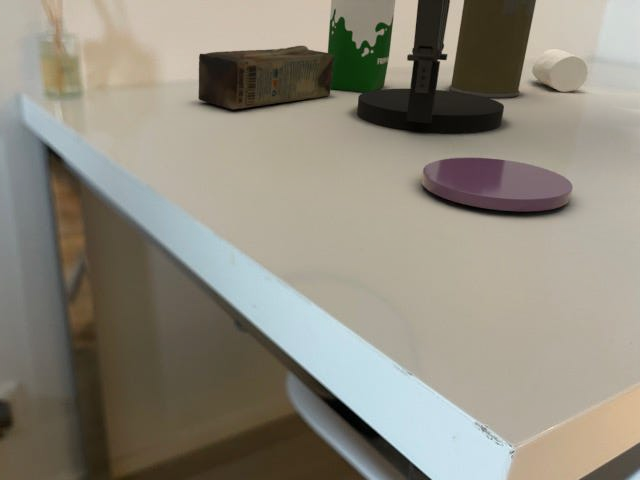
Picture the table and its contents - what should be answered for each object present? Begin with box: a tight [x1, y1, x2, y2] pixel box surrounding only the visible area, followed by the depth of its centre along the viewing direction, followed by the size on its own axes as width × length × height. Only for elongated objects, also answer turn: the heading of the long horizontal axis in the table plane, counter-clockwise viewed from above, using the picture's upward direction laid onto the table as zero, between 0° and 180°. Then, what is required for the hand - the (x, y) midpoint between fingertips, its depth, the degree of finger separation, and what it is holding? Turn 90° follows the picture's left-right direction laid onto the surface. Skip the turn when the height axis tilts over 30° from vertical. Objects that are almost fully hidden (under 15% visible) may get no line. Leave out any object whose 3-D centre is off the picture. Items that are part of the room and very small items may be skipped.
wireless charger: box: [356, 88, 505, 134], centre depth 84 cm, size 18×18×2 cm
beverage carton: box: [198, 45, 334, 110], centre depth 90 cm, size 8×19×7 cm, turn 133°
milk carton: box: [327, 0, 396, 93], centre depth 98 cm, size 9×9×20 cm
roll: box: [531, 48, 589, 93], centre depth 108 cm, size 6×12×6 cm, turn 177°
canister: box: [448, 0, 537, 99], centre depth 98 cm, size 11×10×20 cm
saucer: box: [421, 157, 573, 212], centre depth 56 cm, size 12×12×1 cm
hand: (419, 120), depth 75 cm, fingers closed
